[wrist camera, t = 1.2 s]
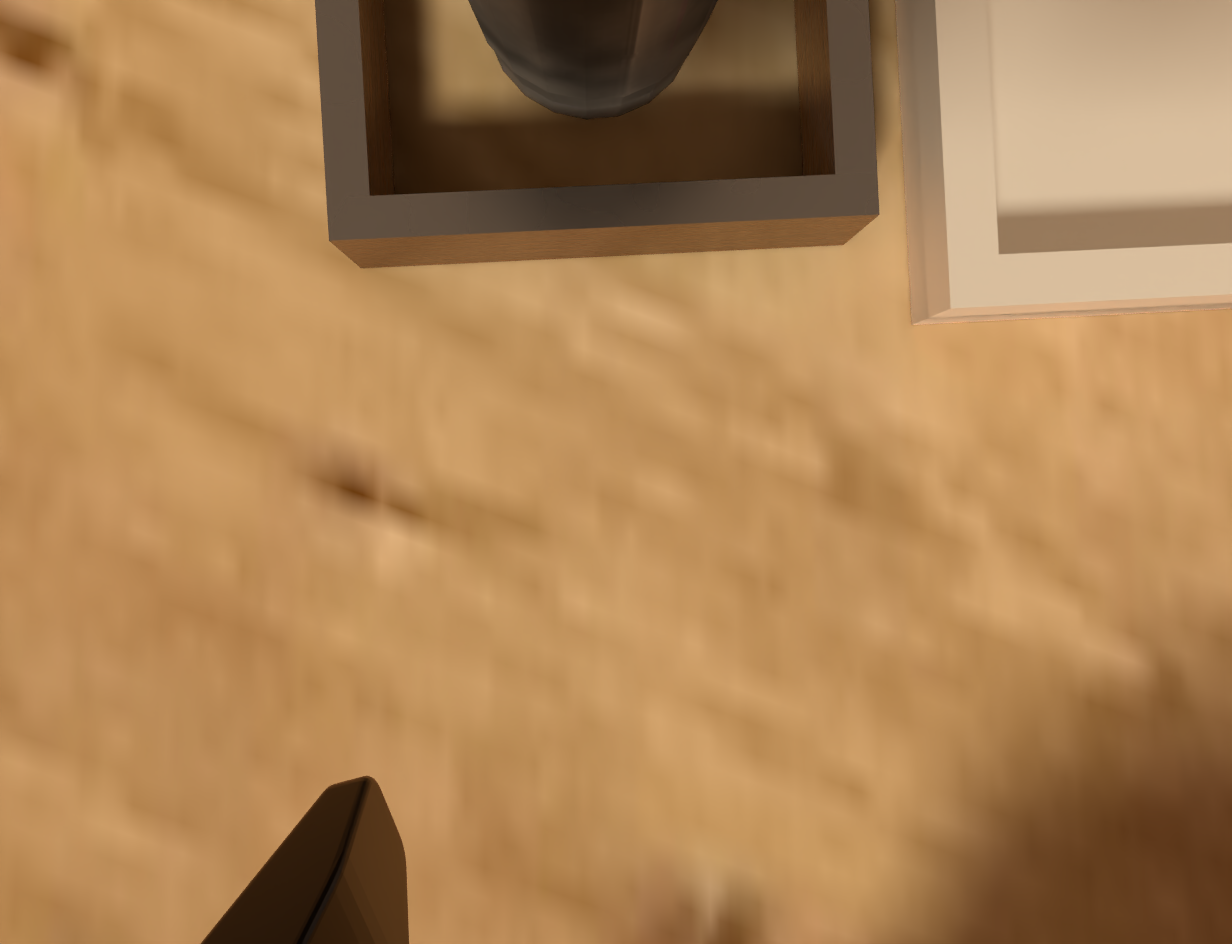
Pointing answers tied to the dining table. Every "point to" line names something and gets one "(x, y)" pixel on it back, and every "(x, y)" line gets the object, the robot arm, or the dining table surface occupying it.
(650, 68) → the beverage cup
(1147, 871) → the dining table surface
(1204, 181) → the cream white tray
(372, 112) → the grey-brown square frame
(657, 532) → the dining table surface
